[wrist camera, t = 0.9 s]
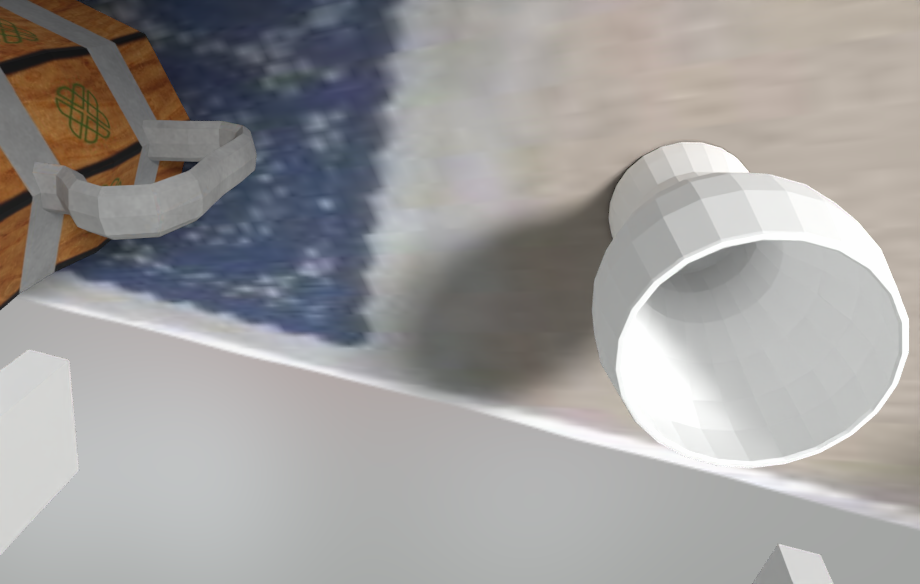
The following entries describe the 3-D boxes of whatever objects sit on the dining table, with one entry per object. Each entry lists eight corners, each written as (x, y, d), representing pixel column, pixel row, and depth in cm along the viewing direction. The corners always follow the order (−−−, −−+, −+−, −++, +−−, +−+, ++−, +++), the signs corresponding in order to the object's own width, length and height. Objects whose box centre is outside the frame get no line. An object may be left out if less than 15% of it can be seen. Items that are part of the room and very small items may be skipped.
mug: (5, 218, 41) (-254, 339, 28) (-64, -18, 35) (-437, -5, 22) (306, 245, 40) (180, 389, 26) (288, 1, 33) (113, 29, 20)
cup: (588, 305, 39) (605, 484, 26) (575, 126, 34) (588, 231, 21) (779, 291, 37) (905, 477, 24) (792, 100, 32) (958, 197, 19)
